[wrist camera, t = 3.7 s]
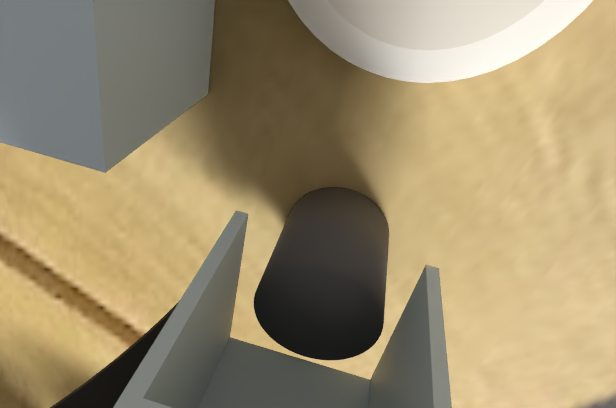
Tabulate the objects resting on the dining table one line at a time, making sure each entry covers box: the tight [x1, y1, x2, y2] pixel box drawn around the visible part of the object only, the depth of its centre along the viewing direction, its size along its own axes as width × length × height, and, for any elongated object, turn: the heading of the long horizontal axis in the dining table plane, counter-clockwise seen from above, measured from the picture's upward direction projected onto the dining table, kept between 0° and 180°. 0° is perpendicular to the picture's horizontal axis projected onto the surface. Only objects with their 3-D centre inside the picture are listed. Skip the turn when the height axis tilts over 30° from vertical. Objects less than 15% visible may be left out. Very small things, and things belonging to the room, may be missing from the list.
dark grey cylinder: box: [254, 187, 389, 360], centre depth 15 cm, size 4×4×4 cm
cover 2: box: [113, 211, 452, 408], centre depth 11 cm, size 6×6×6 cm
